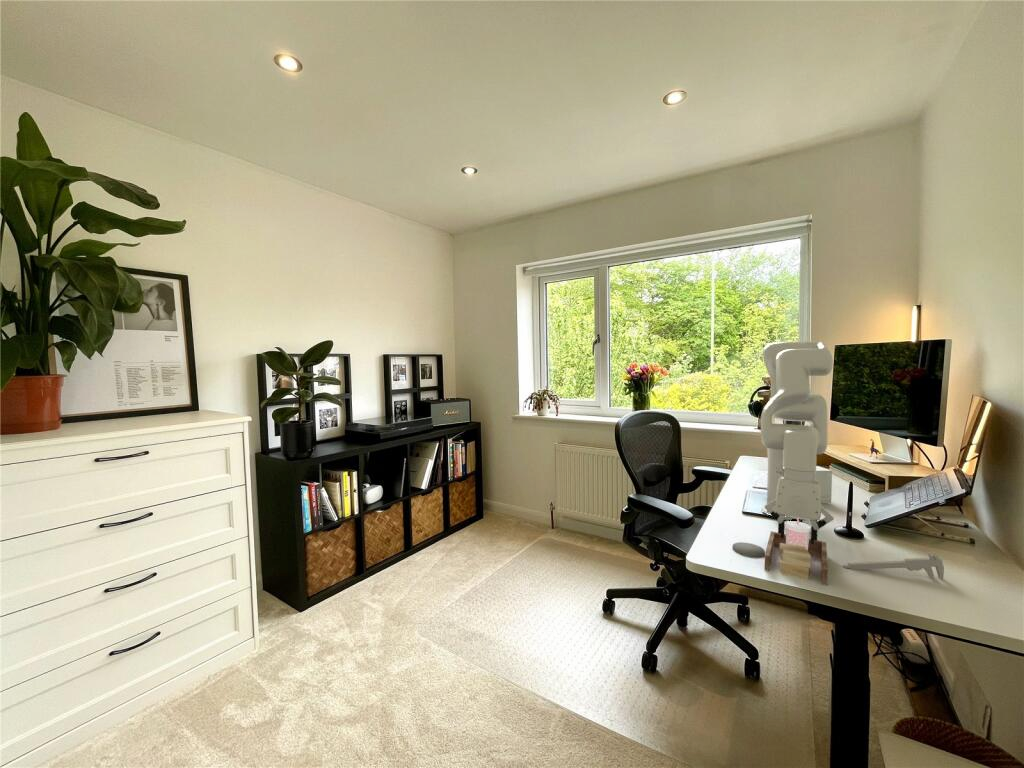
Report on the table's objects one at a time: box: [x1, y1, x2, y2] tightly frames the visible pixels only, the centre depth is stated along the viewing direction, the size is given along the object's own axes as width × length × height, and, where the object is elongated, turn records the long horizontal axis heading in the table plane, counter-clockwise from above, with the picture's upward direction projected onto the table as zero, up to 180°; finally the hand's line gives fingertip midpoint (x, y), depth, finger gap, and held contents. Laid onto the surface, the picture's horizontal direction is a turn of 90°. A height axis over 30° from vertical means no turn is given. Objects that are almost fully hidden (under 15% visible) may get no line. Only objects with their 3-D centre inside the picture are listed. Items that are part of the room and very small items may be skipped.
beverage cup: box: [784, 518, 812, 551], centre depth 114 cm, size 6×6×14 cm
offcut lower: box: [779, 557, 810, 580], centre depth 107 cm, size 6×6×3 cm
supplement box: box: [816, 465, 833, 504], centre depth 159 cm, size 7×7×13 cm
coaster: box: [732, 541, 766, 558], centre depth 119 cm, size 8×8×1 cm
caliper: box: [842, 553, 945, 580], centre depth 106 cm, size 20×1×6 cm, turn 72°
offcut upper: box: [779, 543, 812, 569], centre depth 107 cm, size 6×6×3 cm
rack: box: [763, 531, 829, 586], centre depth 111 cm, size 18×13×4 cm
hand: (797, 538), depth 114 cm, fingers closed on beverage cup, 6 cm apart
